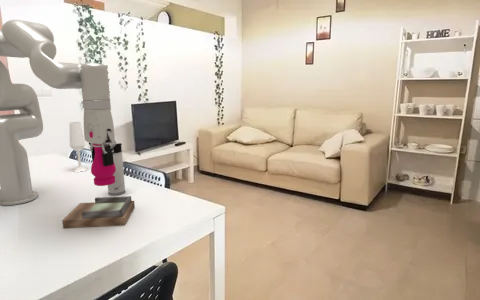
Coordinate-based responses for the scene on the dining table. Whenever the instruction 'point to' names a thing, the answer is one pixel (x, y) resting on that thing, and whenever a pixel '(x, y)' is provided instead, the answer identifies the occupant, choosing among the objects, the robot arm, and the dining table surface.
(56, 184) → the dining table surface
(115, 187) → the travel mug
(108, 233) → the dining table surface
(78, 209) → the dock
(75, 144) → the champagne flute
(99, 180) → the pepper mill
